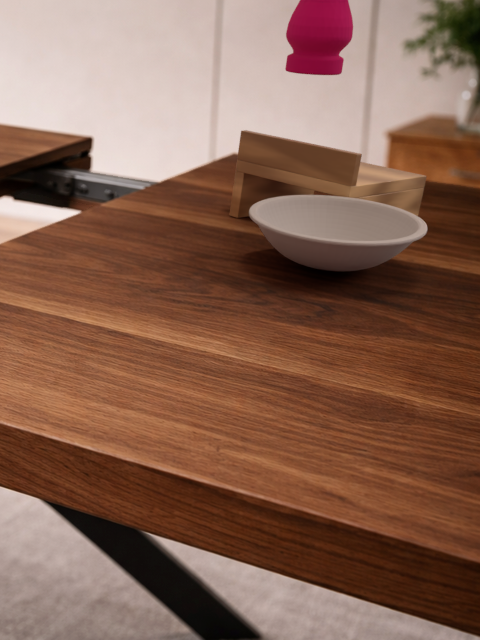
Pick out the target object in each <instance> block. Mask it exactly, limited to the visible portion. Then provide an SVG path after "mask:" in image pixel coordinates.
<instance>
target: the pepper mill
mask: <svg viewBox="0 0 480 640" xmlns="http://www.w3.org/2000/svg"><path fill="white" fill-rule="evenodd" d="M353 33H354V21H353V15H352V10H351V6H350V2H349V0H299V1H298V3H297V5H296V7H295V8H294V10H293V12H292V14H291V16H290V19H289V21H288V24H287V28H286V32H285V37H286V40H287V43H288V44H289V45H290V47H291V49H292V53H289V54H287V56H286V62H285V68H284V69H285V71H286V72H288V73H292V74H300V75H310V76H339V75H342V73H343V66H344V61H345V59H344V57H342V56H341V55H340V53H341V52H342V51H343V50H344V49H345V48H346V47H348V45H349V44H350V43H351V41H352V39H353Z"/></svg>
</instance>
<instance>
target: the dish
mask: <svg viewBox="0 0 480 640" xmlns="http://www.w3.org/2000/svg"><path fill="white" fill-rule="evenodd" d="M248 217H249V218H250V220H252V222H254V224H256V225H257V226H258V228H259V230H260V231H261V234H262V235H263V236H264V237H265V239H266V240H267V242H268V243H269V244H270V245H271V246H272V248H274V249H275V250H276V251H277V252H278V253H279V254H280V255H282V256H283V257H285V258H287V259H288V260H290V261H292V262H293V263H297V264H299V265H302V266H304V267H308V268H311V269H315V270H316V269H317V270H320V271H327V272H357V271H363V270H367V269H371V268H373V267H377V266H379V265H381V264H384V263H386V262H388V261H390V260H392V259H393V258H395V257H396V256H397V255H399V254H401V253H402V252H403V251H404V250H406V249H407V248H408V247H409V246H411V244H413V242H416V241H419V240H421V239H422V238H424V236H426V235H427V233H428V225H427V223H426V222H425V221H424V219H422V218H421V217H420V216H419V215H418V216H416V215H414V214H412V213H410V212H408V211H405V210H403V209H400V208H397V207H394V206H390V205H387V204H383V203H378V202H374V201H369V200H363V199H357V198H350V197H341V196H334V195H330V194H314V195H289V196H280V197H274V198H269V199H265V200H262V201H259V202H257V203H255V204H254V205H252V206H251V208H250V210H249V216H248Z"/></svg>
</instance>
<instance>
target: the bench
mask: <svg viewBox="0 0 480 640" xmlns="http://www.w3.org/2000/svg"><path fill="white" fill-rule="evenodd" d="M236 157H237V158H236V159H237V160H236V164H235V165H236V166H235V172H234V179H233V187H232V194H231V200H230V208H229V217H232V218H236V219H241V218H246V217H247V218H248V217H250V216H249V210H250V208H251V206H252V205H254V204H255V203H257V202H259V201H262V200H265V199H269V198H274V197H280V196H289V195H315V192H318V193H322V194H325V195H329V196H341V197H350V198H357V199H363V200H369V201H374V202H378V203H383V204H387V205H390V206H394V207H397V208H400V209H403V210H405V211H408V212H410V213H412V214H414V215H416V216H418V217H419V214H420V209H421V204H422V200H423V195H424V191H425V187H426V181H427V177H428V176H427V175H425V174H421V173H416V172H411V171H406V170H401V169H396V168H392V167H387V166H383V165H377V164H372V163H369V162H368V163H367V162H363V161H362V153H360V152H354V151H350V150H345V149H340V148H335V147H330V146H325V145H320V144H315V143H310V142H305V141H301V140H297V139H291V138H286V137H283V136H282V137H281V136H277V135H272V134H266V133H262V132H257V131H252V130H247V129H245V130H244V129H243V130H241V131H240V136H239V144H238V151H237V156H236Z"/></svg>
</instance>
